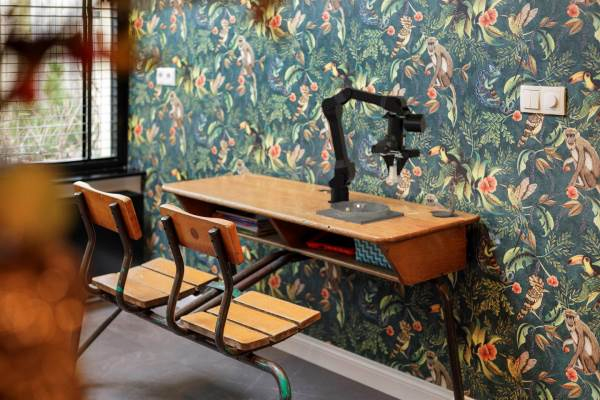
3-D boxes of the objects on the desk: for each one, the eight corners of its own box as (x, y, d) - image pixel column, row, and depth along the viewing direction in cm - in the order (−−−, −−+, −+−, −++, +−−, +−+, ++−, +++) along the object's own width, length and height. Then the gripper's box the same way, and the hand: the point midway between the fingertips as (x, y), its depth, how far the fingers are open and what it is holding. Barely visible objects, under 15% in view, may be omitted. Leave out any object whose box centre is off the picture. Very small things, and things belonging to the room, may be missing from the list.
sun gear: (350, 211, 278) (350, 203, 277) (359, 210, 281) (359, 201, 280) (360, 214, 274) (360, 205, 274) (369, 212, 278) (369, 203, 277)
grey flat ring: (318, 211, 278) (318, 205, 278) (358, 203, 292) (359, 198, 292) (361, 221, 263) (361, 215, 263) (401, 212, 277) (402, 207, 277)
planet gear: (383, 181, 288) (383, 166, 287) (393, 179, 292) (393, 164, 290) (394, 183, 284) (395, 168, 283) (405, 181, 287) (405, 166, 286)
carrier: (316, 214, 279) (316, 205, 278) (358, 206, 293) (358, 197, 292) (361, 224, 263) (361, 215, 262) (403, 215, 277) (404, 206, 277)
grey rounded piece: (428, 215, 279) (429, 186, 277) (445, 212, 284) (446, 184, 282) (444, 219, 272) (446, 190, 270) (462, 216, 277) (463, 188, 275)
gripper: (361, 130, 286) (359, 173, 289) (401, 135, 272) (399, 180, 275) (381, 128, 293) (380, 170, 296) (421, 133, 279) (419, 177, 282)
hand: (394, 174), depth 287 cm, fingers closed on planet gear, 3 cm apart
